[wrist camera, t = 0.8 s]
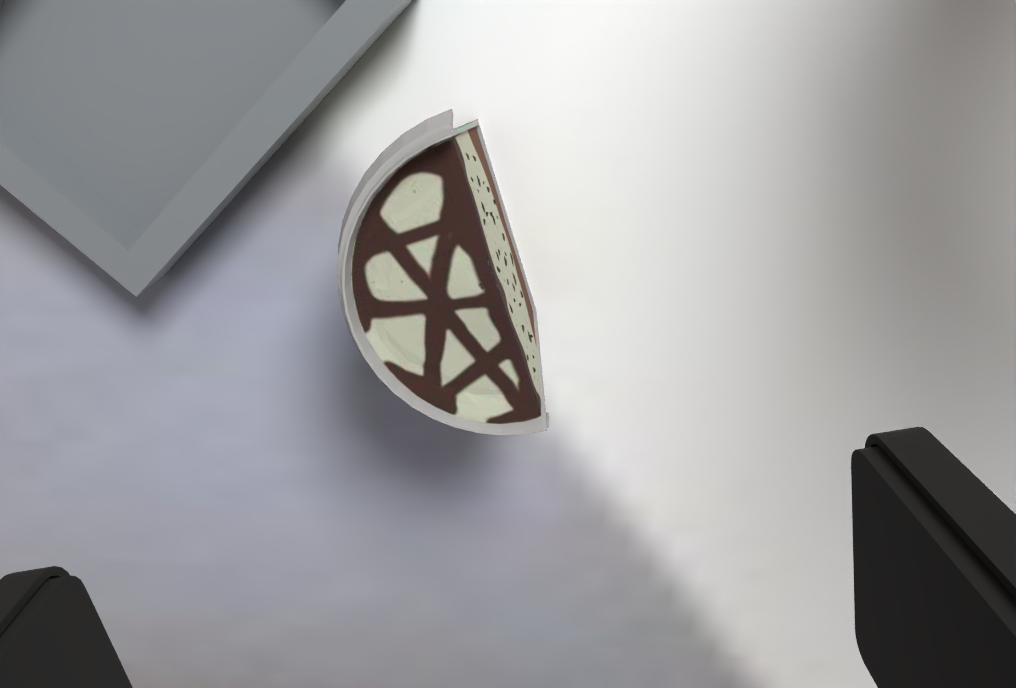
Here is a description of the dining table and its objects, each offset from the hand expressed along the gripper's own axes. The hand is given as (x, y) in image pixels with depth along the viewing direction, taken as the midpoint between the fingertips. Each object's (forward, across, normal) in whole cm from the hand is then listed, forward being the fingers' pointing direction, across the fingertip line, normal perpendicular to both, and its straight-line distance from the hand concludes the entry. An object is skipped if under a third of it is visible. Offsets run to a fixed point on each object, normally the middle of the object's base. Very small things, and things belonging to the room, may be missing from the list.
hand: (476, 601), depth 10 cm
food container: (+29, +3, +2) cm, 29 cm away
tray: (+28, +12, -9) cm, 32 cm away
